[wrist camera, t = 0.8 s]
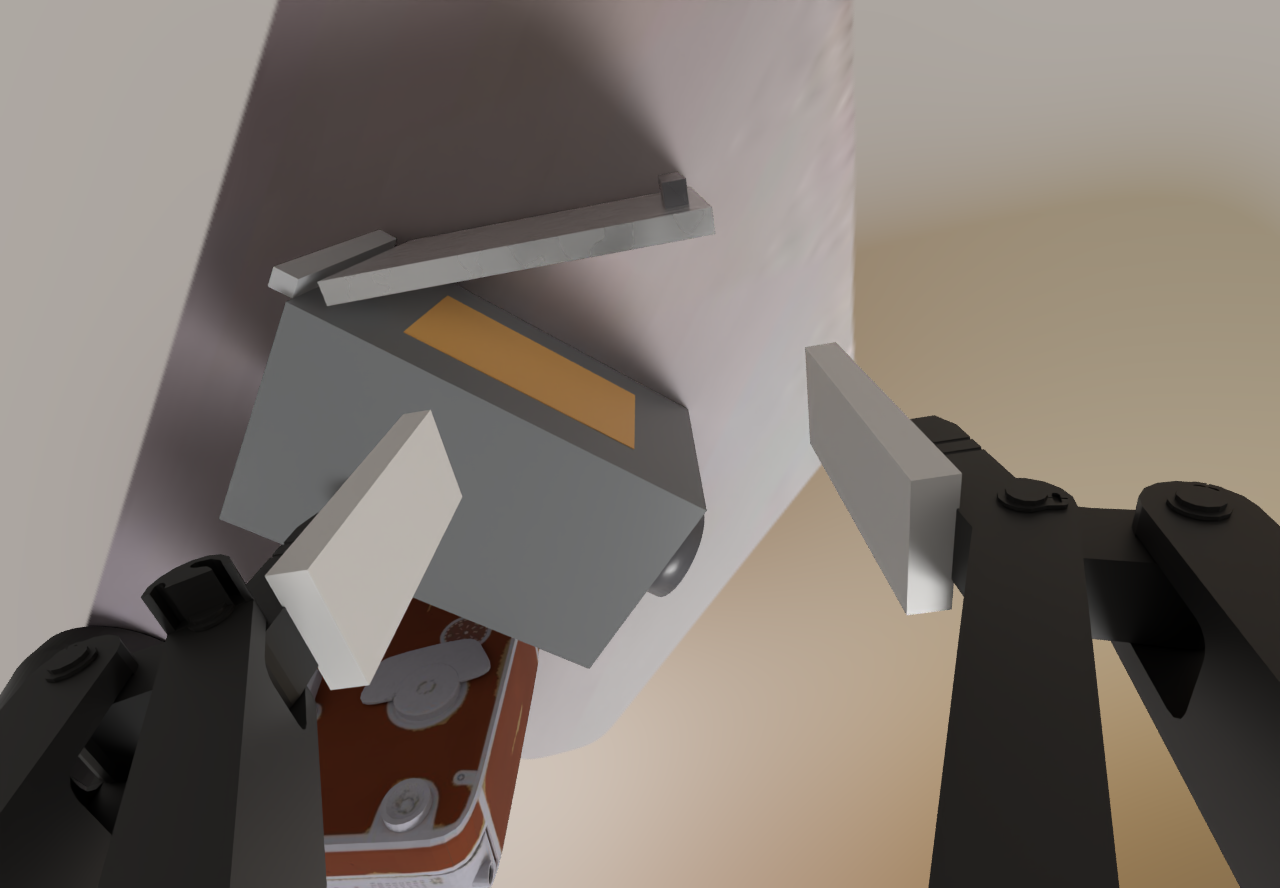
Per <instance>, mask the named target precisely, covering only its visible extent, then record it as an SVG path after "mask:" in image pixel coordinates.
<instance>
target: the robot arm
mask: <svg viewBox="0 0 1280 888" xmlns="http://www.w3.org/2000/svg"><path fill="white" fill-rule="evenodd" d="M805 353H806V372H807V390H808V409H809V428H810V444H811V445H812V447H813V449H814V451H815V453H816V454H817V456H818V458H819V460H820V461H821V463H822V465H823V467H824V469H825V470H826V472H827V474H828V476H829V477H830V479H831V481H832V483H833V485H834V486H835V488H836V490H837V492H838V494H839V495H840V497H841V499H842V501H843V502H844V504H845V506H846V508H847V509H848V511H849V513H850V515H851V517H852V519H853V520H854V522H855V524H856V526H857V527H858V529H859V531H860V533H861V535H862V536H863V538H864V540H865V542H866V544H867V545H868V547H869V549H870V550H871V552H872V554H873V556H874V558H875V560H876V561H877V563H878V565H879V567H880V569H881V570H882V572H883V574H884V576H885V577H886V579H887V581H888V583H889V585H890V586H891V588H892V590H893V592H894V593H895V595H896V597H897V599H898V601H899V602H900V604H901V606H902V608H903V609H904V611H905V613H906V615H912V614H919V613H926V612H935V611H942V610H950V609H952V598H953V584H955V585H956V586H957V588H958V589H959V590H960V592H961V593H962V595H963V596H964V601H963V609H962V617H961V625H960V633H959V642H958V650H957V658H956V666H955V674H954V683H953V691H952V699H951V708H950V716H949V724H948V733H947V740H946V748H945V757H944V766H943V773H942V781H941V789H940V798H939V806H938V814H937V822H936V831H935V839H934V847H933V855H932V863H931V872H930V880H929V888H1119V881H1118V872H1117V863H1116V853H1115V844H1114V835H1113V826H1112V818H1111V808H1110V798H1109V790H1108V781H1107V772H1106V762H1105V753H1104V744H1103V735H1102V725H1101V717H1100V707H1099V698H1098V689H1097V679H1096V670H1095V661H1094V652H1093V643H1092V639H1100V640H1108V641H1111V642H1112V644H1113V646H1114V648H1115V650H1116V652H1117V654H1118V655H1119V658H1120V659H1121V661H1122V663H1123V665H1124V667H1125V669H1126V671H1127V673H1128V675H1129V677H1130V678H1131V680H1132V682H1133V684H1134V686H1135V688H1136V690H1137V692H1138V694H1139V696H1140V697H1141V699H1142V701H1143V703H1144V705H1145V707H1146V709H1147V711H1148V713H1149V715H1150V717H1151V718H1152V720H1153V722H1154V724H1155V726H1156V728H1157V730H1158V732H1159V734H1160V736H1161V737H1162V739H1163V741H1164V743H1165V745H1166V747H1167V749H1168V751H1169V752H1170V754H1171V756H1172V758H1173V760H1174V762H1175V764H1176V766H1177V768H1178V770H1179V772H1180V774H1181V776H1182V777H1183V779H1184V781H1185V783H1186V785H1187V787H1188V789H1189V791H1190V793H1191V795H1192V796H1193V798H1194V800H1195V802H1196V804H1197V806H1198V808H1199V810H1200V811H1201V814H1202V816H1203V817H1204V819H1205V821H1206V823H1207V825H1208V827H1209V829H1210V831H1211V833H1212V834H1213V836H1214V838H1215V840H1216V842H1217V844H1218V846H1219V848H1220V850H1221V852H1222V854H1223V855H1224V857H1225V859H1226V861H1227V863H1228V865H1229V866H1230V869H1231V870H1232V873H1233V875H1234V876H1235V878H1236V880H1237V882H1238V884H1239V886H1240V888H1280V526H1279V525H1278V524H1277V523H1276V522H1275V521H1274V520H1273V519H1271V518H1270V517H1269V516H1268V515H1267V514H1266V513H1265V512H1264V511H1263V510H1262V509H1261V508H1260V507H1259V506H1257V505H1256V504H1254V503H1253V502H1251V501H1250V500H1248V499H1247V498H1245V497H1244V496H1242V495H1239V494H1237V493H1234V492H1232V491H1229V490H1226V489H1224V488H1222V487H1219V486H1215V485H1211V484H1209V485H1207V484H1206V483H1200V482H1182V481H1172V482H1162V483H1156V484H1153V485H1151V486H1148V487H1146V488H1144V489H1143V491H1142V492H1141V494H1140V495H1139V498H1138V502H1137V506H1136V510H1124V509H1123V510H1122V509H1100V508H1085V507H1078V506H1077V504H1076V502H1075V500H1074V499H1073V497H1072V496H1071V495H1070V494H1068V493H1067V492H1066V491H1064V490H1063V489H1061V488H1059V487H1056V486H1054V485H1052V484H1049V483H1046V482H1043V481H1037V480H1032V479H1027V478H1015V477H1014V476H1013V475H1012V474H1011V473H1010V472H1008V471H1007V470H1006V469H1005V468H1004V467H1003V466H1002V465H1001V464H1000V463H998V462H997V461H996V460H995V459H994V458H993V457H992V456H991V455H990V454H988V453H987V452H986V451H985V450H984V449H983V450H982V449H981V446H980V445H978V444H977V443H976V442H975V441H974V440H973V439H970V436H969V435H967V434H966V433H965V432H964V431H963V430H962V429H961V428H960V427H959V426H957V425H956V424H954V423H952V422H949V421H947V420H944V419H942V418H939V417H937V416H927V417H921V418H915V419H909V418H908V417H907V416H906V415H905V414H904V413H903V412H902V411H901V409H900V408H899V407H898V406H897V405H896V404H895V403H893V401H892V400H891V399H890V398H889V397H888V396H887V395H886V394H885V393H884V392H883V391H882V390H881V389H880V388H879V387H878V386H877V385H876V384H875V382H874V381H873V380H872V379H871V378H870V377H869V376H868V375H867V374H866V373H865V372H864V371H863V370H862V369H861V368H860V367H859V366H858V365H857V364H856V363H855V362H854V361H853V360H852V359H851V358H850V357H849V355H848V354H847V353H846V352H845V351H844V350H843V349H842V348H841V347H840V346H839V345H838V344H837V343H836V342H835V343H829V344H823V345H817V346H811V347H805ZM461 498H462V495H461V492H460V489H459V486H458V484H457V481H456V478H455V475H454V473H453V470H452V467H451V464H450V462H449V459H448V456H447V453H446V451H445V448H444V445H443V442H442V440H441V437H440V434H439V431H438V429H437V426H436V423H435V420H434V418H433V415H432V412H431V410H426V411H420V412H414V413H408V414H403V415H402V416H401V417H400V418H399V420H398V421H397V422H396V423H395V424H394V425H393V427H392V428H391V429H390V430H389V431H388V432H387V434H386V435H385V436H384V437H383V438H382V439H381V441H380V442H379V443H378V444H377V445H376V446H375V448H374V449H373V450H372V451H371V452H370V453H369V455H368V456H367V457H366V458H365V459H364V460H363V462H362V463H361V464H360V465H359V466H358V467H357V469H356V470H355V471H354V472H353V473H352V474H351V476H350V477H349V478H348V479H347V480H346V481H345V483H344V484H343V485H342V486H341V487H340V489H339V490H338V491H337V492H336V493H335V494H334V496H333V497H332V498H331V499H330V500H329V501H328V503H327V504H326V505H325V506H324V507H323V508H322V510H321V511H320V512H319V513H316V514H315V515H313V516H312V517H311V518H309V519H308V520H306V521H305V522H304V523H302V524H301V525H299V526H298V527H297V528H296V529H295V530H294V531H293V532H292V533H291V535H290V536H289V537H288V538H287V539H286V540H285V541H284V545H281V546H280V547H279V548H278V549H277V550H276V552H275V553H274V554H273V558H269V560H268V561H267V562H266V563H265V564H264V565H263V566H262V568H261V569H260V570H259V571H258V572H257V573H256V574H255V575H254V577H253V578H252V579H251V580H250V581H249V582H248V583H247V585H246V584H245V582H244V580H243V579H242V577H241V576H240V574H239V572H238V571H237V569H236V567H235V566H234V564H233V562H232V561H231V559H230V557H229V556H225V555H222V554H219V555H210V556H205V557H202V558H199V559H195V560H192V561H190V562H188V563H185V564H183V565H181V566H179V567H177V568H175V569H173V570H171V571H170V572H168V573H166V574H165V575H163V576H161V577H160V578H159V579H157V580H156V581H155V582H154V583H153V584H151V585H150V586H149V587H148V588H147V589H146V591H145V592H144V593H143V595H142V596H141V598H142V600H143V601H144V603H145V604H146V605H147V607H148V608H149V610H150V611H151V612H152V614H153V615H154V617H155V618H156V619H157V621H158V622H159V624H160V625H161V626H162V628H163V629H164V631H165V632H166V633H167V639H166V642H162V641H160V640H158V639H155V638H153V637H150V636H147V635H144V634H141V633H138V632H134V631H130V630H125V629H120V628H113V627H100V626H92V627H81V628H75V629H70V630H67V631H64V632H61V633H59V634H57V635H55V636H53V637H51V638H50V639H49V640H47V641H46V642H45V643H44V644H43V645H42V646H40V647H39V648H38V649H37V650H36V651H35V652H33V653H32V654H31V655H30V656H29V657H27V658H26V659H25V660H24V661H23V662H22V663H21V665H20V666H19V667H18V668H17V669H16V671H15V672H14V674H13V676H12V677H11V679H10V681H9V682H8V684H7V685H6V687H5V688H4V690H3V691H2V693H1V695H0V888H327V880H326V863H325V847H324V830H323V814H322V797H321V781H320V764H319V747H318V731H317V714H316V702H315V699H314V697H313V695H312V693H311V692H310V690H309V688H308V687H307V684H308V682H309V681H310V679H311V678H312V676H313V674H314V673H315V671H316V669H317V668H318V669H319V671H320V673H321V674H322V676H323V678H324V680H325V681H326V683H327V685H328V686H329V688H330V690H336V689H343V688H351V687H359V686H366V685H370V683H371V681H372V679H373V677H374V675H375V673H376V670H377V668H378V666H379V664H380V662H381V660H382V658H383V656H384V654H385V652H386V650H387V648H388V646H389V644H390V642H391V640H392V638H393V636H394V634H395V632H396V630H397V628H398V626H399V624H400V622H401V620H402V618H403V616H404V614H405V612H406V610H407V608H408V606H409V604H410V602H411V600H412V598H413V596H414V594H415V592H416V590H417V588H418V585H419V583H420V581H421V579H422V577H423V575H424V573H425V571H426V569H427V567H428V565H429V563H430V561H431V559H432V557H433V555H434V553H435V551H436V549H437V547H438V545H439V543H440V541H441V539H442V537H443V535H444V533H445V531H446V529H447V527H448V525H449V523H450V521H451V519H452V517H453V515H454V513H455V511H456V509H457V507H458V505H459V503H460V500H461Z"/></svg>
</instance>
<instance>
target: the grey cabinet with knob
mask: <svg viewBox="0 0 1280 888" xmlns="http://www.w3.org/2000/svg"><path fill="white" fill-rule="evenodd" d="M395 242H396V238H395V237H393V236H391V235H389V234H387V233H385V232H383V231H382V230H377V231H374V232H371V233H368V234H365V235H362V236H360V237H357V238H354V239H351V240H348V241H345V242H342V243H340V244H337V245H334V246H331V247H328V248H325V249H322V250H320V251H317V252H314V253H311V254H308V255H305V256H302V257H300V258H297V259H294V260H291V261H288V262H285V263H282V264H280V265H277V266H274V267H273V270H272V273H271V277H270V280H269V284H268V287H270V288H272V289H274V290H276V291H278V292H280V293H282V294H284V295H286V296H288V297H290V298H292V299H291V300H289V301H286V303H285V307H284V310H283V313H282V316H281V319H280V323H279V326H278V329H277V332H276V336H275V339H274V342H273V345H272V349H271V352H270V355H269V358H268V362H267V365H266V368H265V371H264V375H263V378H262V381H261V384H260V387H259V391H258V394H257V397H256V400H255V404H254V407H253V410H252V413H251V417H250V420H249V423H248V426H247V430H246V433H245V436H244V439H243V443H242V446H241V449H240V452H239V456H238V459H237V462H236V465H235V468H234V472H233V475H232V478H231V481H230V485H229V488H228V491H227V494H226V498H225V501H224V504H223V507H222V511H221V514H220V517H219V519H220V520H223V521H225V522H228V523H230V524H233V525H235V526H238V527H240V528H243V529H245V530H248V531H250V532H252V533H255V534H257V535H260V536H262V537H265V538H267V539H270V540H272V541H275V542H277V543H280V544H282V545H284V541H285V540H286V539H287V538H288V537H289V536H290V535H291V533H292V532H293V531H294V530H295V529H296V528H297V527H298V526H299V525H301V524H302V523H304V522H305V521H306V520H308V519H309V518H311V517H312V516H313V515H315V514H316V513H319V512H320V511H321V510H322V508H323V507H324V506H325V505H326V504H327V503H328V501H329V500H330V499H331V498H332V497H333V496H334V494H335V493H336V492H337V491H338V490H339V489H340V487H341V486H342V485H343V484H344V483H345V481H346V480H347V479H348V478H349V477H350V476H351V474H352V473H353V472H354V471H355V470H356V469H357V467H358V466H359V465H360V464H361V463H362V462H363V460H364V459H365V458H366V457H367V456H368V455H369V453H370V452H371V451H372V450H373V449H374V448H375V446H376V445H377V444H378V443H379V442H380V441H381V439H382V438H383V437H384V436H385V435H386V434H387V432H388V431H389V430H390V429H391V428H392V427H393V425H394V424H395V423H396V422H397V421H398V420H399V418H400V417H401V416H402V415H403V414H408V413H414V412H420V411H426V410H431V412H432V415H433V418H434V420H435V423H436V426H437V429H438V431H439V434H440V437H441V440H442V442H443V445H444V448H445V451H446V453H447V456H448V459H449V462H450V464H451V467H452V470H453V473H454V475H455V478H456V481H457V484H458V486H459V489H460V492H461V495H462V498H461V500H460V503H459V505H458V507H457V509H456V511H455V513H454V515H453V517H452V519H451V521H450V523H449V525H448V527H447V529H446V531H445V533H444V535H443V537H442V539H441V541H440V543H439V545H438V547H437V549H436V551H435V553H434V555H433V557H432V559H431V561H430V563H429V565H428V567H427V569H426V571H425V573H424V575H423V577H422V579H421V581H420V583H419V585H418V588H417V590H416V592H415V594H414V596H413V598H416V599H418V600H421V601H423V602H425V603H428V604H430V605H433V606H435V607H438V608H440V609H443V610H445V611H448V612H450V613H453V614H455V615H458V616H460V617H463V618H465V619H467V620H470V621H472V622H475V623H477V624H480V625H482V626H485V627H487V628H490V629H492V630H495V631H497V632H500V633H502V634H505V635H507V636H509V637H512V638H514V639H517V640H519V641H522V642H524V643H527V644H529V645H532V646H534V647H537V648H539V649H542V650H544V651H547V652H549V653H551V654H554V655H556V656H559V657H561V658H564V659H566V660H569V661H571V662H574V663H576V664H579V665H581V666H584V667H586V668H590V667H591V666H592V664H593V663H594V662H595V660H596V659H597V658H598V656H599V655H600V654H601V652H602V651H603V650H604V648H605V647H606V646H607V644H608V643H609V642H610V640H611V639H612V637H613V636H614V635H615V633H616V632H617V631H618V629H619V628H620V627H621V625H622V624H623V623H624V621H625V620H626V619H627V617H628V616H629V615H630V613H631V612H632V611H633V609H634V608H635V607H636V605H637V604H638V602H639V601H640V600H641V598H642V597H643V596H644V594H645V593H646V592H649V593H651V594H654V595H656V596H658V597H663V596H666V595H667V594H669V593H670V592H671V591H673V590H674V589H675V588H676V587H677V585H678V584H679V583H680V582H681V580H682V579H683V577H684V576H685V574H686V573H687V571H688V569H689V568H690V566H691V564H692V562H693V560H694V557H695V555H696V553H697V550H698V547H699V545H700V541H701V538H702V534H703V528H704V514H705V512H706V511H707V510H706V505H705V499H704V494H703V488H702V483H701V477H700V472H699V466H698V461H697V455H696V450H695V444H694V439H693V433H692V428H691V423H690V417H689V412H688V409H686V408H684V407H683V406H681V405H679V404H677V403H675V402H673V401H671V400H670V399H668V398H666V397H664V396H662V395H660V394H658V393H657V392H655V391H653V390H651V389H649V388H647V387H645V386H644V385H642V384H640V383H638V382H636V381H634V380H632V379H631V378H629V377H627V376H625V375H623V374H621V373H619V372H618V371H616V370H614V369H612V368H610V367H608V366H606V365H605V364H603V363H601V362H599V361H597V360H595V359H593V358H592V357H590V356H588V355H586V354H584V353H582V352H580V351H579V350H577V349H575V348H573V347H571V346H569V345H567V344H565V343H564V342H562V341H560V340H558V339H556V338H554V337H552V336H551V335H549V334H547V333H545V332H543V331H541V330H539V329H538V328H536V327H534V326H532V325H530V324H528V323H526V322H525V321H523V320H521V319H519V318H517V317H515V316H513V315H512V314H510V313H508V312H506V311H504V310H502V309H500V308H499V307H497V306H495V305H493V304H491V303H489V302H487V301H486V300H484V299H482V298H480V297H478V296H476V295H474V294H473V293H471V292H469V291H467V290H465V289H463V288H461V287H460V286H458V285H456V284H454V283H449V284H444V285H438V286H433V287H427V288H422V289H417V290H411V291H406V292H400V293H395V294H390V295H384V296H379V297H374V298H368V299H363V300H357V301H352V302H347V303H341V304H336V305H330V306H327V304H326V302H325V299H324V297H323V295H322V292H321V290H320V287H319V285H318V283H317V282H318V281H320V280H322V279H324V278H327V277H329V276H331V275H333V274H336V273H338V272H340V271H342V270H345V269H347V268H349V267H351V266H354V265H356V264H358V263H360V262H363V261H365V260H367V259H369V258H372V257H374V256H376V255H378V254H381V253H383V252H385V251H387V250H390V249H392V248H393V247H394V245H395Z"/></svg>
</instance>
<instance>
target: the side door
mask: <svg viewBox="0 0 1280 888" xmlns="http://www.w3.org/2000/svg"><path fill="white" fill-rule="evenodd" d="M658 181H659V187H660V192H659V193H654V194H649V195H644V196H639V197H633V198H628V199H623V200H618V201H613V202H607V203H602V204H597V205H592V206H587V207H581V208H576V209H571V210H566V211H561V212H555V213H550V214H545V215H540V216H535V217H529V218H524V219H519V220H514V221H509V222H503V223H498V224H493V225H488V226H483V227H477V228H472V229H467V230H462V231H457V232H452V233H446V234H441V235H436V236H431V237H426V238H420V239H415V240H410V241H408V242H405V243H403V244H401V245H399V246H396V247H394V248H392V249H390V250H387V251H385V252H383V253H381V254H378V255H376V256H374V257H372V258H369V259H367V260H365V261H363V262H360V263H358V264H356V265H354V266H351V267H349V268H347V269H345V270H342V271H340V272H338V273H336V274H333V275H331V276H329V277H327V278H324V279H322V280H320V281H318V282H317V283H318V285H319V287H320V290H321V292H322V295H323V297H324V299H325V302H326V304H327V306H330V305H336V304H341V303H347V302H352V301H357V300H363V299H368V298H374V297H379V296H384V295H390V294H395V293H400V292H406V291H411V290H417V289H422V288H427V287H433V286H438V285H444V284H449V283H454V282H460V281H465V280H470V279H476V278H481V277H487V276H492V275H497V274H503V273H508V272H514V271H519V270H524V269H530V268H535V267H541V266H546V265H551V264H557V263H562V262H567V261H573V260H578V259H584V258H589V257H594V256H600V255H605V254H611V253H616V252H621V251H627V250H632V249H637V248H643V247H648V246H654V245H659V244H664V243H670V242H675V241H681V240H686V239H691V238H697V237H702V236H707V235H713V234H715V228H714V219H713V210H712V206H710V205H709V204H708V203H707V202H706V201H705V200H704V199H703V198H702V197H701V196H700V195H699V194H698V193H697V192H695V191H694V190H693V189H692V188H691V187H687V185H686V178H684V177H683V176H682V175H681V174H680V173H679V172H672V173H667V174H662V175H658Z"/></svg>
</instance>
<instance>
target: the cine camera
mask: <svg viewBox="0 0 1280 888" xmlns="http://www.w3.org/2000/svg"><path fill="white" fill-rule="evenodd" d="M538 655H539V648H537V647H534V646H532V645H529V644H527V643H524V642H522V641H519V640H517V639H514V638H512V637H509V636H507V635H505V634H502V633H500V632H497V631H495V630H492V629H490V628H487V627H485V626H482V625H480V624H477V623H475V622H472V621H470V620H467V619H465V618H463V617H460V616H458V615H455V614H453V613H450V612H448V611H445V610H443V609H440V608H438V607H435V606H433V605H430V604H428V603H425V602H423V601H421V600H418V599H416V598H412V600H411V602H410V604H409V606H408V608H407V610H406V612H405V614H404V616H403V618H402V620H401V622H400V624H399V626H398V628H397V630H396V632H395V634H394V636H393V638H392V640H391V642H390V644H389V646H388V648H387V650H386V652H385V654H384V656H383V658H382V660H381V662H380V664H379V666H378V668H377V670H376V673H375V675H374V677H373V679H372V681H371V683H370V685H366V686H359V687H351V688H343V689H336V690H330V688H329V686H328V685H327V683H326V681H325V680H324V678H323V676H322V674H321V673H320V671H319V669H318V668H317V669H316V671H315V673H314V674H313V676H312V678H311V679H310V681H309V682H308V684H307V687H308V688H309V690H310V692H311V693H312V695H313V697H314V699H315V702H316V714H317V731H318V747H319V764H320V781H321V797H322V814H323V830H324V847H325V863H326V880H327V888H491V886H492V884H493V881H494V878H495V876H496V873H497V870H498V866H499V862H500V858H501V854H502V850H503V845H504V839H505V835H506V830H507V824H508V820H509V814H510V809H511V804H512V799H513V794H514V789H515V784H516V778H517V773H518V768H519V763H520V758H521V752H522V747H523V742H524V737H525V731H526V726H527V721H528V716H529V710H530V705H531V700H532V695H533V689H534V683H535V678H536V672H537V666H538Z"/></svg>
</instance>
